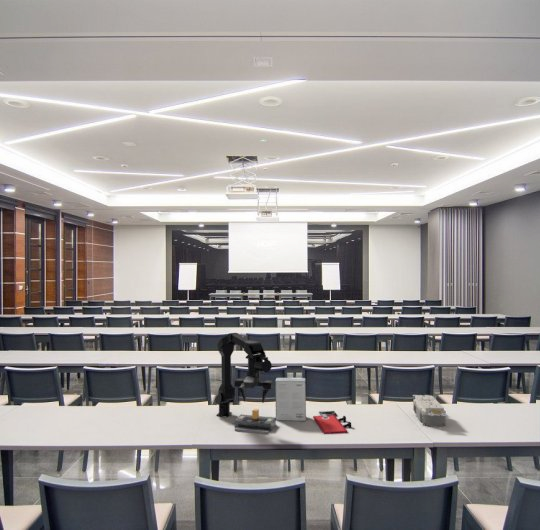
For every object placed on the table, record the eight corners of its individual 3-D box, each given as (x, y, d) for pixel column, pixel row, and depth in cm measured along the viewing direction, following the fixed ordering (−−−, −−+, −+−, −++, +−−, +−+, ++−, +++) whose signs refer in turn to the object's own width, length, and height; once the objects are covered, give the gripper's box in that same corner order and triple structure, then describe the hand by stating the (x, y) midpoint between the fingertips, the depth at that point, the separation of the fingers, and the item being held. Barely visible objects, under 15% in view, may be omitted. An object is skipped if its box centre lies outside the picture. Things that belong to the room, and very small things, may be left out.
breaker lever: (254, 416, 205) (254, 408, 205) (258, 417, 204) (258, 409, 204) (252, 418, 202) (252, 410, 202) (256, 419, 201) (257, 410, 201)
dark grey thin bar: (235, 428, 199) (235, 426, 199) (269, 432, 195) (269, 430, 195) (233, 430, 197) (233, 428, 197) (267, 434, 192) (267, 432, 192)
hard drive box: (306, 416, 218) (306, 377, 218) (306, 421, 210) (305, 381, 211) (276, 415, 219) (276, 377, 220) (275, 420, 211) (275, 380, 212)
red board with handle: (337, 412, 225) (310, 413, 223) (337, 407, 225) (309, 408, 223) (355, 433, 195) (324, 435, 193) (355, 427, 195) (323, 429, 193)
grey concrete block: (431, 410, 226) (431, 392, 226) (451, 433, 198) (451, 412, 197) (409, 409, 227) (409, 391, 226) (425, 432, 198) (426, 411, 198)
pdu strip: (241, 421, 210) (241, 414, 210) (275, 424, 205) (275, 417, 205) (234, 427, 201) (234, 419, 201) (270, 431, 196) (270, 423, 196)
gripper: (229, 371, 195) (229, 405, 194) (267, 373, 189) (267, 408, 189) (238, 366, 206) (238, 398, 205) (274, 368, 200) (274, 401, 199)
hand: (253, 401), depth 199 cm, fingers open, 9 cm apart
